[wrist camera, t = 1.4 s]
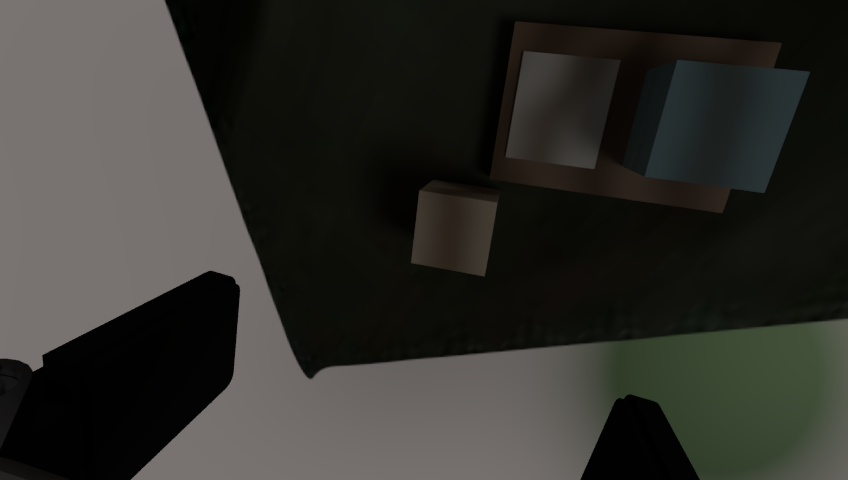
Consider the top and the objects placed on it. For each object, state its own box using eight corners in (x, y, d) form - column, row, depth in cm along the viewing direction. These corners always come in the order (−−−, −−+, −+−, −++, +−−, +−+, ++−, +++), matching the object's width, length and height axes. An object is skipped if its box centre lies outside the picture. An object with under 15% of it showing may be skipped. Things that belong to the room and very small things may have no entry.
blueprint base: (769, 46, 29) (849, 24, 22) (713, 209, 33) (767, 234, 26) (515, 25, 32) (515, 0, 25) (490, 176, 36) (484, 191, 29)
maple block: (499, 189, 36) (497, 202, 31) (488, 252, 38) (484, 276, 32) (433, 179, 37) (419, 190, 32) (426, 241, 39) (411, 262, 33)
